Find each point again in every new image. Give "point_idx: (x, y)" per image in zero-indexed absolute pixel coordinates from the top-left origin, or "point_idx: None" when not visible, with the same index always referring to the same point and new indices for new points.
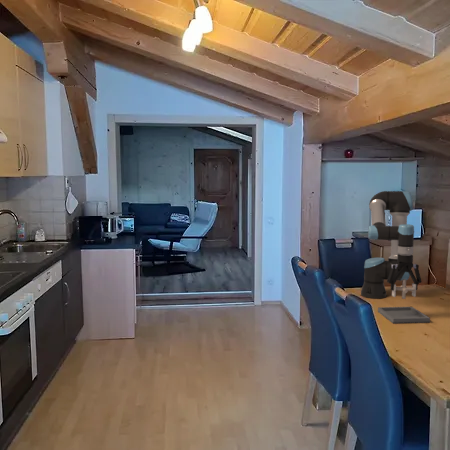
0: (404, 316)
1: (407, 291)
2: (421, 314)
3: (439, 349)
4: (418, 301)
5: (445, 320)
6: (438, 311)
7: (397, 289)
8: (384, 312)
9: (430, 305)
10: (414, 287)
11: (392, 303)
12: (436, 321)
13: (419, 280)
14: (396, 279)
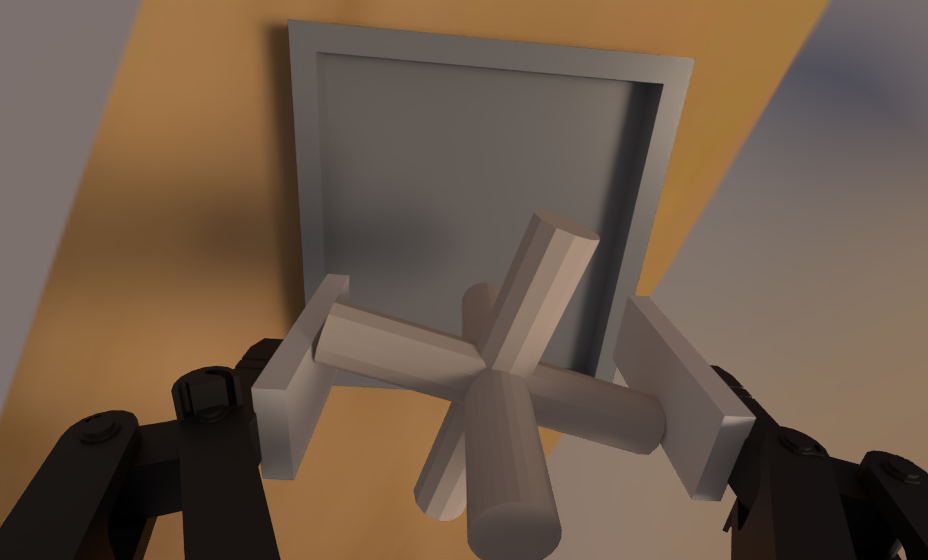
0: (473, 210)
1: (537, 212)
2: (321, 168)
3: None
4: (171, 537)
5: (117, 73)
6: (96, 323)
7: (609, 384)
8: (639, 275)
9: None
10: (308, 354)
11: (379, 523)
12: (220, 58)
13: (104, 458)
14: (792, 526)
